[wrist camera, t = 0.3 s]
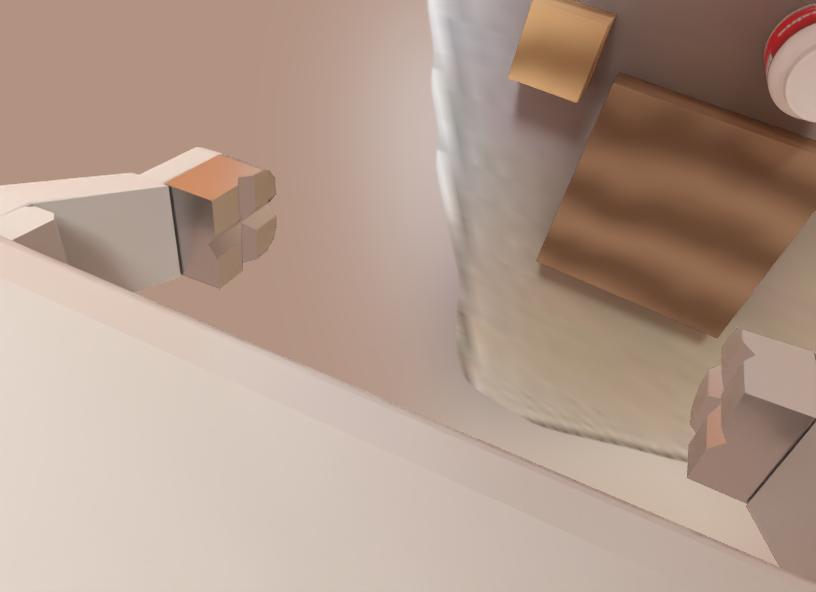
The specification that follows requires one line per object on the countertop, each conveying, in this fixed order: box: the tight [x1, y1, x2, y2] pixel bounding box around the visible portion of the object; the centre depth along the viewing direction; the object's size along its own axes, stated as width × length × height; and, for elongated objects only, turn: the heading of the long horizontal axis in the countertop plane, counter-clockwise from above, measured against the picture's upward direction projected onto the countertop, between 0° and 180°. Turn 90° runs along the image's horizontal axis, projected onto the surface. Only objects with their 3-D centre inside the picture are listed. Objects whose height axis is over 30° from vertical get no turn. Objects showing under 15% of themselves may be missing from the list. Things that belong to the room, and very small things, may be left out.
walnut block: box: [536, 73, 816, 338], centre depth 52 cm, size 18×18×4 cm
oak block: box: [508, 0, 617, 103], centre depth 48 cm, size 6×6×5 cm
